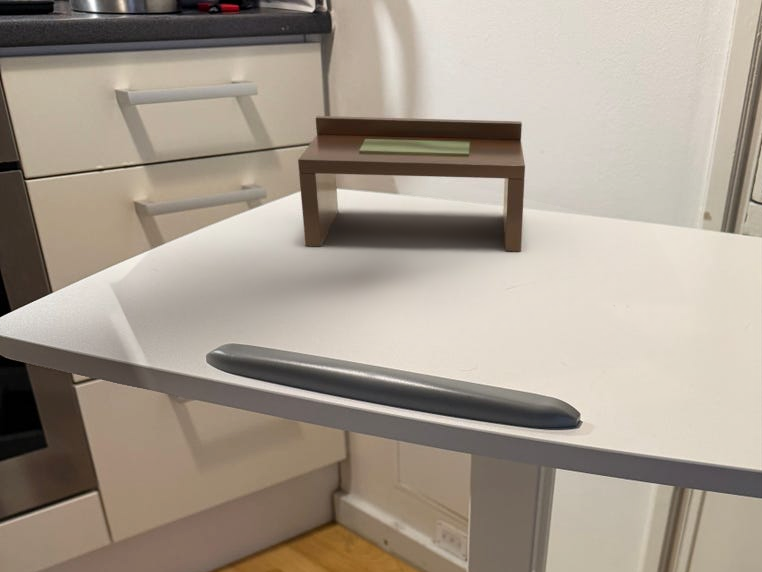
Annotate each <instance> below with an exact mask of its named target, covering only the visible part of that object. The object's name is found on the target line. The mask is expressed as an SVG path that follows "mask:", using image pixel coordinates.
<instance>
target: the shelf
mask: <svg viewBox="0 0 762 572" xmlns="http://www.w3.org/2000/svg"><path fill="white" fill-rule="evenodd" d="M315 127H316V128H315V130H316V136H315V137H314V138H313V139H312V141H311V142H310V143H309V145H308V146H307V147H306V149H305V150H304V151H303V152H302V153H301V155H300V157H298V159H297V164H298V176H299V187H300V189H299V190H300V200H301V210H302V223H303V232H304V233H303V234H304V244H305V247H322V246H323V243H324V241H325V240H326V237H327V236H328V233H329V231H330V229H331V227H332V225H333V223H334V221H335V219H336V218H337V215H338V213H339V203H338V201H339V200H338V191H337V190H338V188H337V175H359V176H361V175H363V176H364V175H365V176H397V177H398V176H399V177H400V176H401V177H434V178H435V177H437V178H441V177H442V178H474V179H475V178H476V179H477V178H478V179H504V185H503V209H502V211H503V214H502V217H503V219H502V221H503V232H504V233H503V235H504V250H505V252H522V239H523V236H522V235H523V220H524V219H523V217H524V198H525V178H526V177H525V176H526V174H525V173H526V163H525V158H524V150H523V145H522V132H523V131H522V128H523V123H522V121H519V120H518V121H517V120H516V121H515V120H514V121H513V120H481V119H480V120H479V119H443V118H442V119H441V118H439V119H438V118H411V117H410V118H408V117H407V118H405V117H403V118H402V117H373V116H334V115H331V116H330V115H317V116H316V117H315Z"/></svg>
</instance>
